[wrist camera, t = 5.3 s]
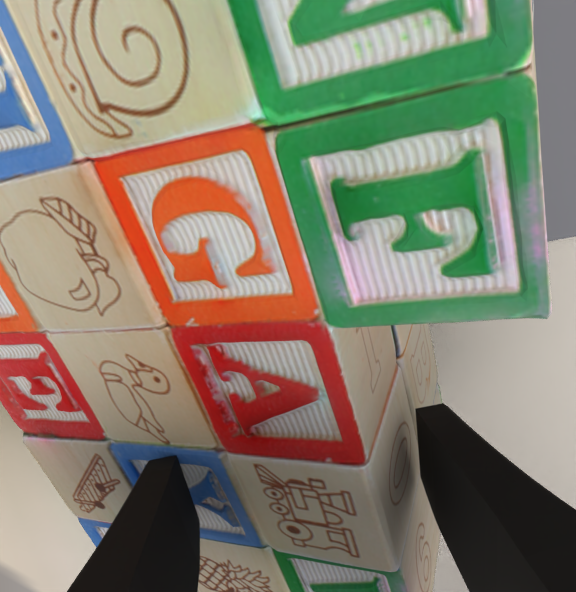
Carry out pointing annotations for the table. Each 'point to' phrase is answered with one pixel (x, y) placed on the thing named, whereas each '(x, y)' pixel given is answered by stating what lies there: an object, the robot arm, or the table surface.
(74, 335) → the stack of blocks
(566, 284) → the table surface
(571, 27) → the mat
